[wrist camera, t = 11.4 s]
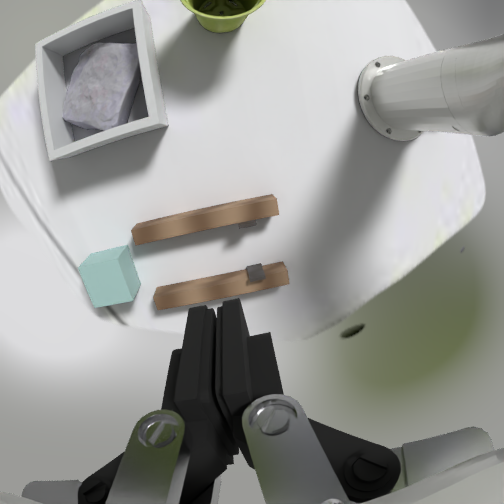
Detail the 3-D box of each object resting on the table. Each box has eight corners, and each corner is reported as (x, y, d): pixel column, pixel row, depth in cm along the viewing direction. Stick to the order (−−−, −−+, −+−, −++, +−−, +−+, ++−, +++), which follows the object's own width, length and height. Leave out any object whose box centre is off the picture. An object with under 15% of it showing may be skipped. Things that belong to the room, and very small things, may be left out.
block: (127, 244, 38) (117, 258, 34) (141, 283, 41) (133, 300, 36) (91, 253, 38) (77, 267, 34) (105, 290, 40) (94, 307, 36)
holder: (150, 16, 28) (140, -2, 22) (168, 125, 34) (159, 123, 28) (56, 52, 27) (35, 43, 22) (71, 157, 33) (49, 161, 27)
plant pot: (216, -23, 26) (217, -57, 18) (273, 10, 29) (288, -19, 21) (169, 21, 28) (158, -6, 20) (228, 57, 31) (231, 34, 23)
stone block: (74, 128, 34) (129, 137, 33) (52, 124, 29) (108, 132, 28) (100, 50, 31) (158, 50, 30) (80, 39, 26) (141, 36, 25)
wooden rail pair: (272, 194, 38) (278, 200, 34) (284, 274, 42) (291, 287, 39) (136, 223, 37) (128, 232, 34) (161, 299, 42) (156, 314, 38)
